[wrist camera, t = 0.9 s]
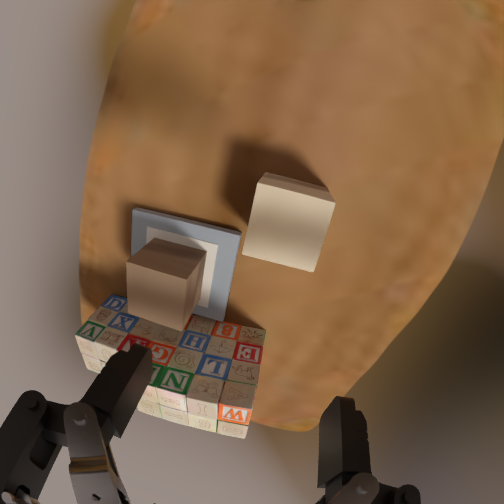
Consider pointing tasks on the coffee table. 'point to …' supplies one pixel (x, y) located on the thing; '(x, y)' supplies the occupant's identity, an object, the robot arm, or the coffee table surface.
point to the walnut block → (165, 282)
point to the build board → (200, 237)
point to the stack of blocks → (183, 365)
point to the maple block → (288, 221)
